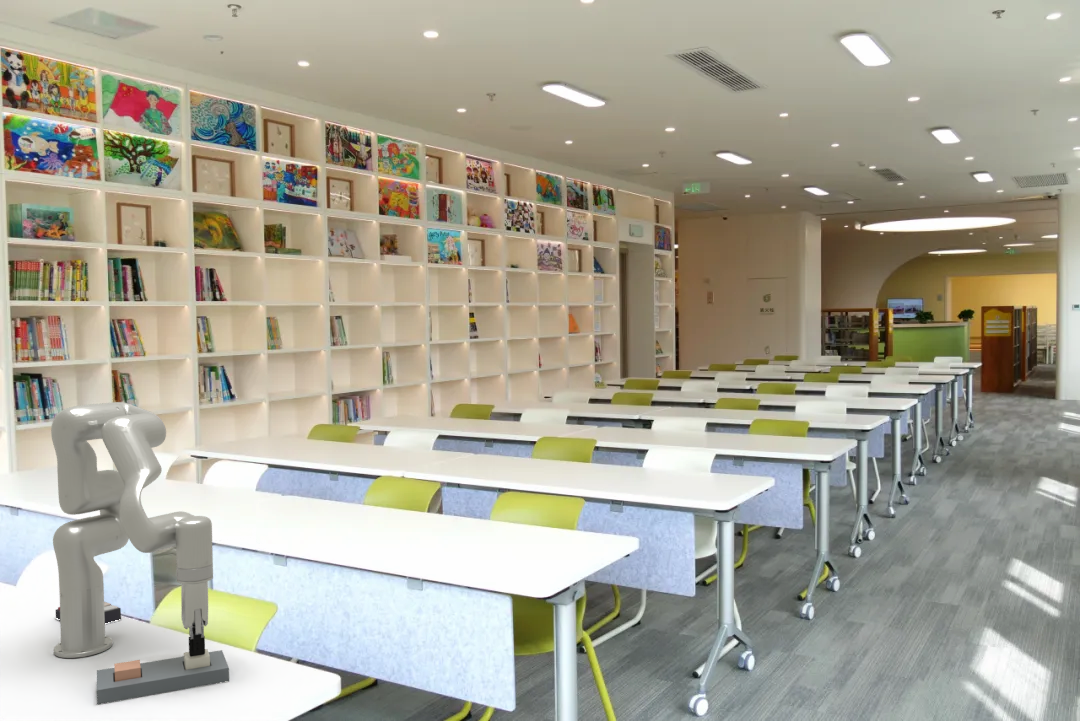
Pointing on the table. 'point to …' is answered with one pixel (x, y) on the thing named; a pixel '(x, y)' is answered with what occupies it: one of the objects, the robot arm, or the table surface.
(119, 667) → the terracotta key
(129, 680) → the key panel
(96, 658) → the table surface
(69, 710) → the table surface
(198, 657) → the cream key
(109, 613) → the calculator
